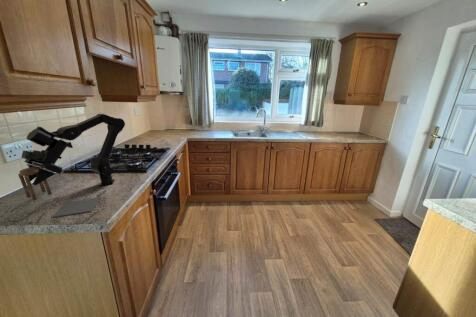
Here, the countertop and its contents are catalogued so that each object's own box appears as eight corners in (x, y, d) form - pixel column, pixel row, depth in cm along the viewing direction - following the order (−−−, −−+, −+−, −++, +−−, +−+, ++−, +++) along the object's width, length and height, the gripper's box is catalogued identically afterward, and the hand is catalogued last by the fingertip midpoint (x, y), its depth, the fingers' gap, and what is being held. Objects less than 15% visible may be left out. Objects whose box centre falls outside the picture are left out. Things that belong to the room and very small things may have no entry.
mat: (65, 203, 96) (65, 202, 96) (99, 198, 100) (99, 197, 100) (52, 217, 85) (52, 216, 85) (91, 211, 89) (91, 210, 89)
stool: (45, 191, 94) (36, 165, 90) (52, 194, 91) (43, 168, 87) (26, 197, 88) (16, 170, 84) (34, 200, 86) (23, 173, 82)
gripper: (23, 140, 89) (-4, 172, 83) (44, 144, 82) (17, 180, 76) (50, 152, 98) (28, 182, 93) (72, 157, 91) (49, 190, 85)
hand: (30, 183), depth 86 cm, fingers closed on stool, 6 cm apart
